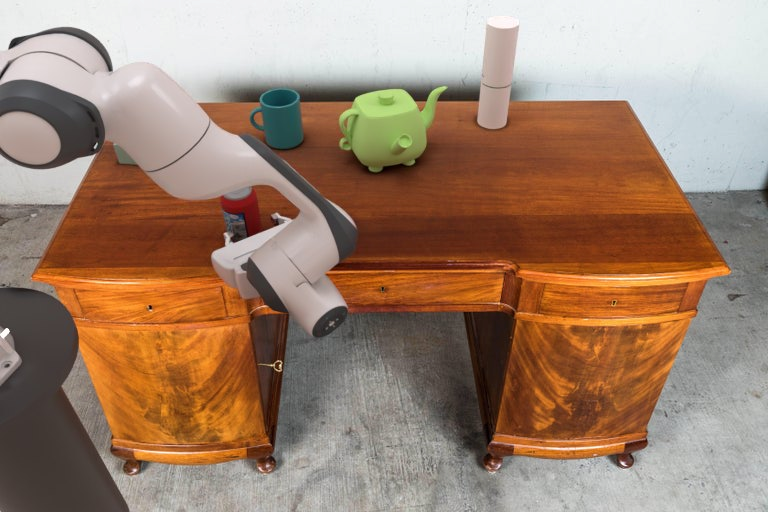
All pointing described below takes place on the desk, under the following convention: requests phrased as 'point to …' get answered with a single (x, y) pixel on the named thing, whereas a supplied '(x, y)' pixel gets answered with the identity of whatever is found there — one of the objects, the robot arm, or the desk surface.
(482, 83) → the cylindrical container
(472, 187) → the desk surface
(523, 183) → the desk surface
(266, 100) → the cup
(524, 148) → the desk surface
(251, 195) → the beverage can
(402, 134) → the teapot
